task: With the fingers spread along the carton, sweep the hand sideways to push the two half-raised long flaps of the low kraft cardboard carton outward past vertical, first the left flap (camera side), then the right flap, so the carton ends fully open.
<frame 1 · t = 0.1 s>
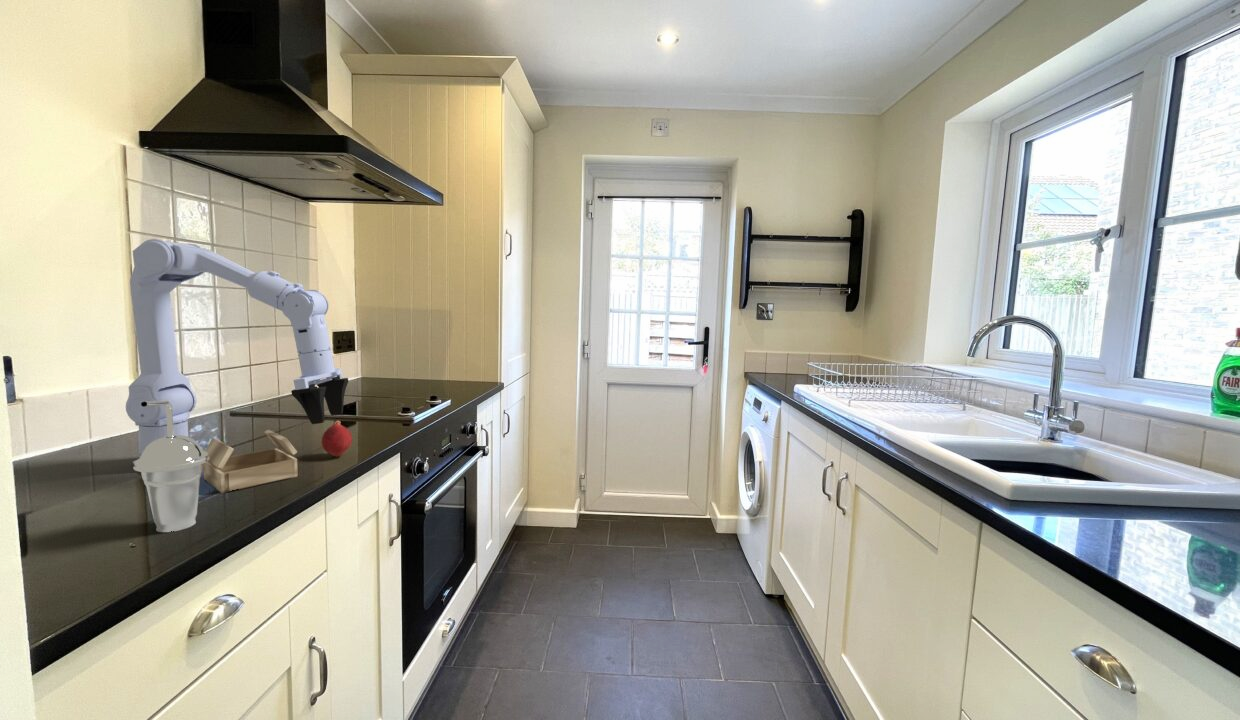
hand: (327, 418, 102), 11 cm above the countertop, tool pointing down, fingers open, 7 cm apart
carton: (251, 477, 97), on the countertop
red rounded oval piece: (337, 457, 111), on the countertop
flap 2: (280, 441, 100), point 6 cm above the countertop, hinge at 60.0°
flap 1: (217, 452, 92), point 6 cm above the countertop, hinge at 60.0°
cup with straw: (174, 527, 76), on the countertop
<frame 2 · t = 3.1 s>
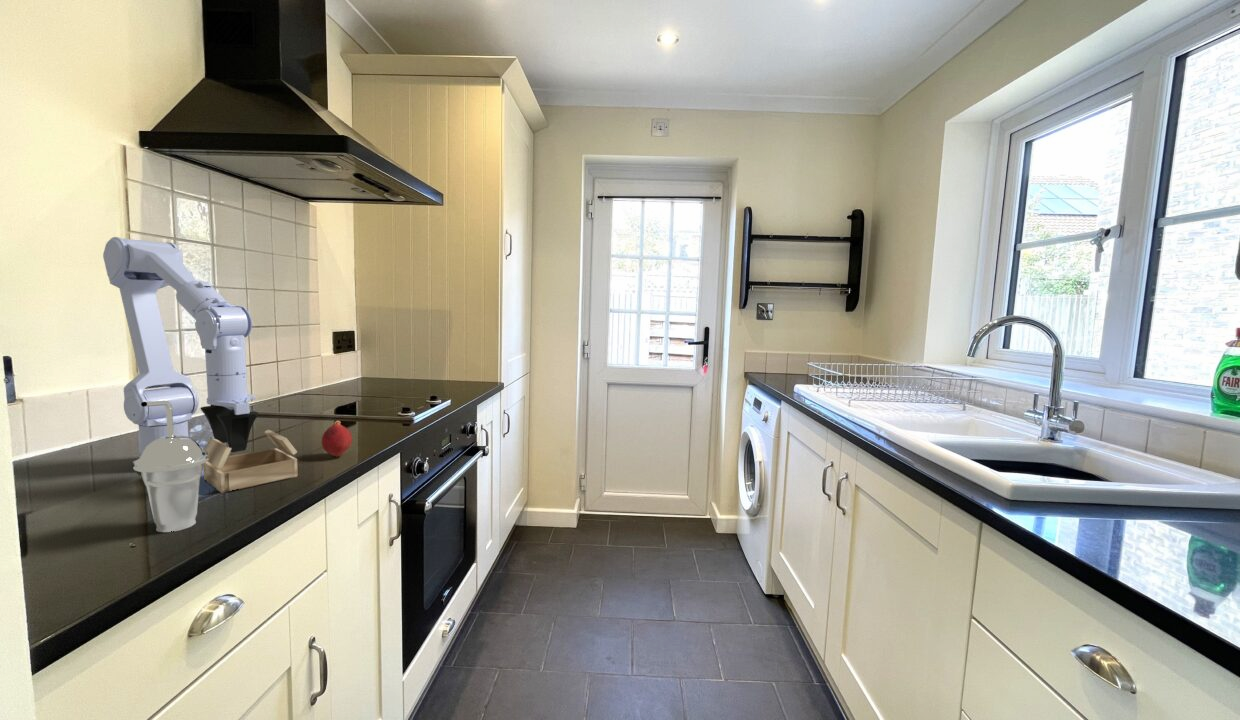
hand: (230, 446, 94), 7 cm above the countertop, tool pointing down
flap 1: (216, 452, 92), point 6 cm above the countertop, hinge at 66.0°, touching gripper
everything else where it was.
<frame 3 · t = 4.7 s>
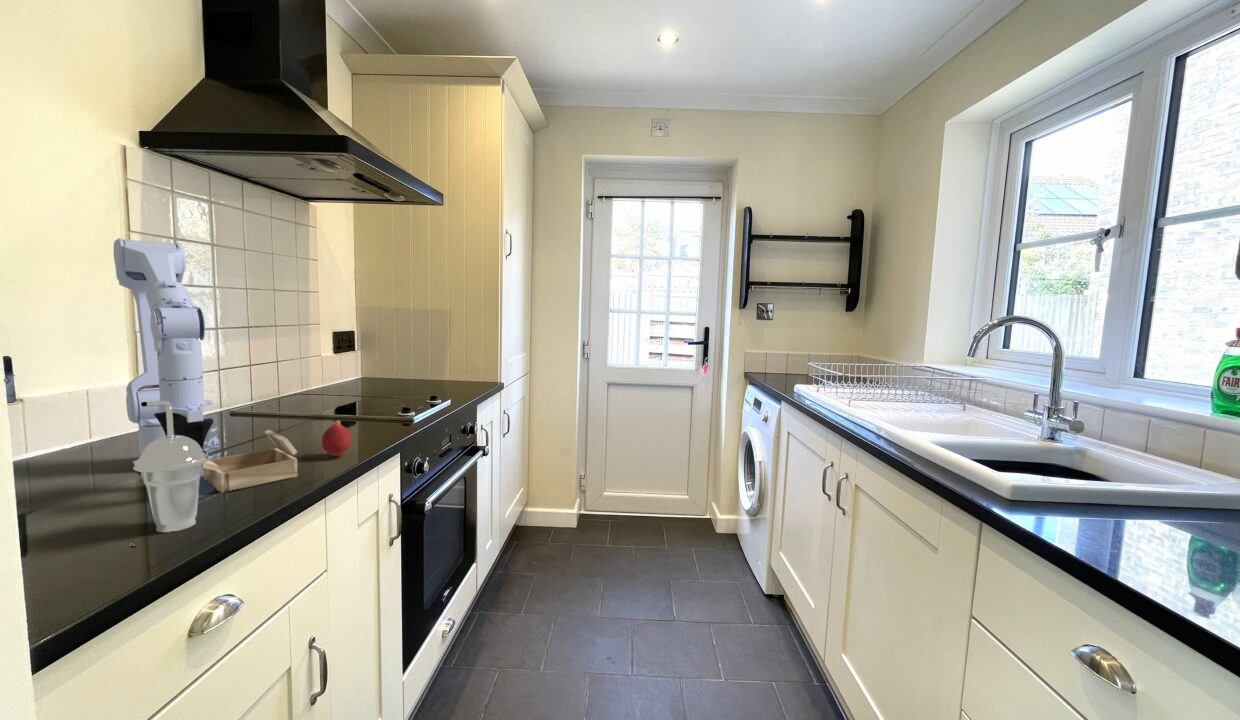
hand: (185, 455, 88), 7 cm above the countertop, tool pointing down, fingers open, 7 cm apart
flap 1: (198, 460, 90), point 5 cm above the countertop, hinge at 151.3°
everything else where it was.
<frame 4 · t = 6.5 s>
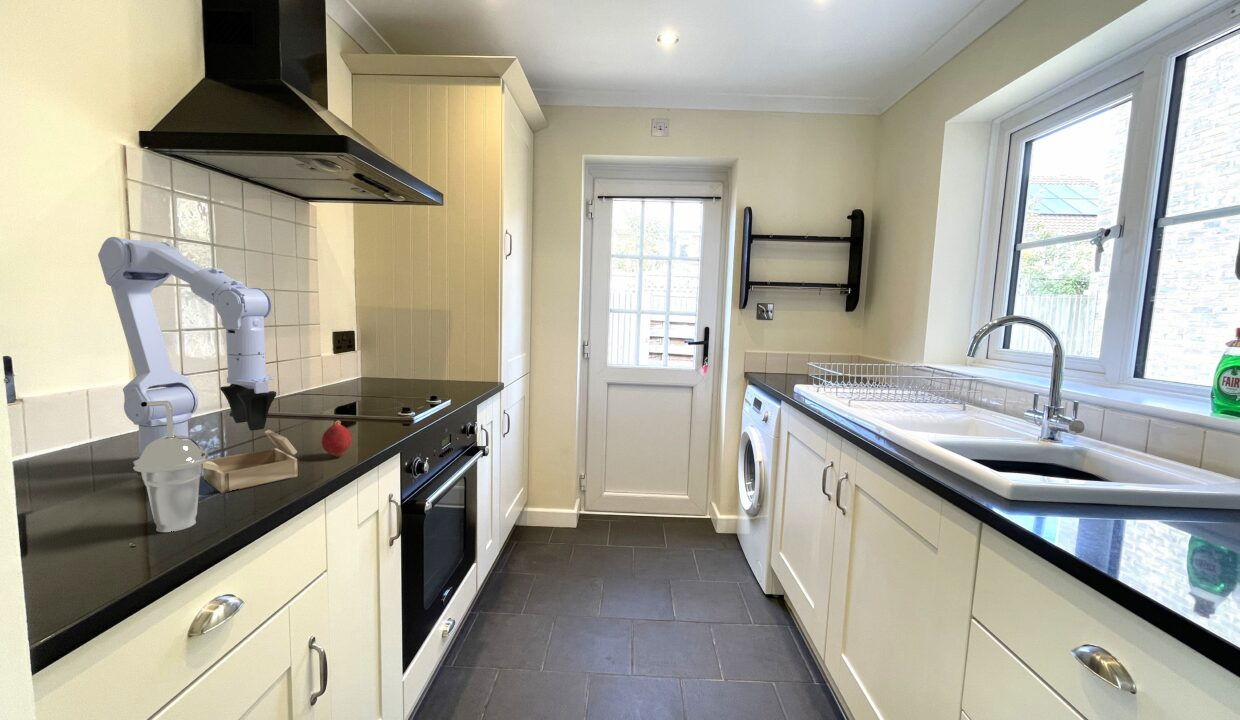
hand: (249, 425, 96), 10 cm above the countertop, tool pointing down, fingers open, 7 cm apart
nothing on the countertop moved.
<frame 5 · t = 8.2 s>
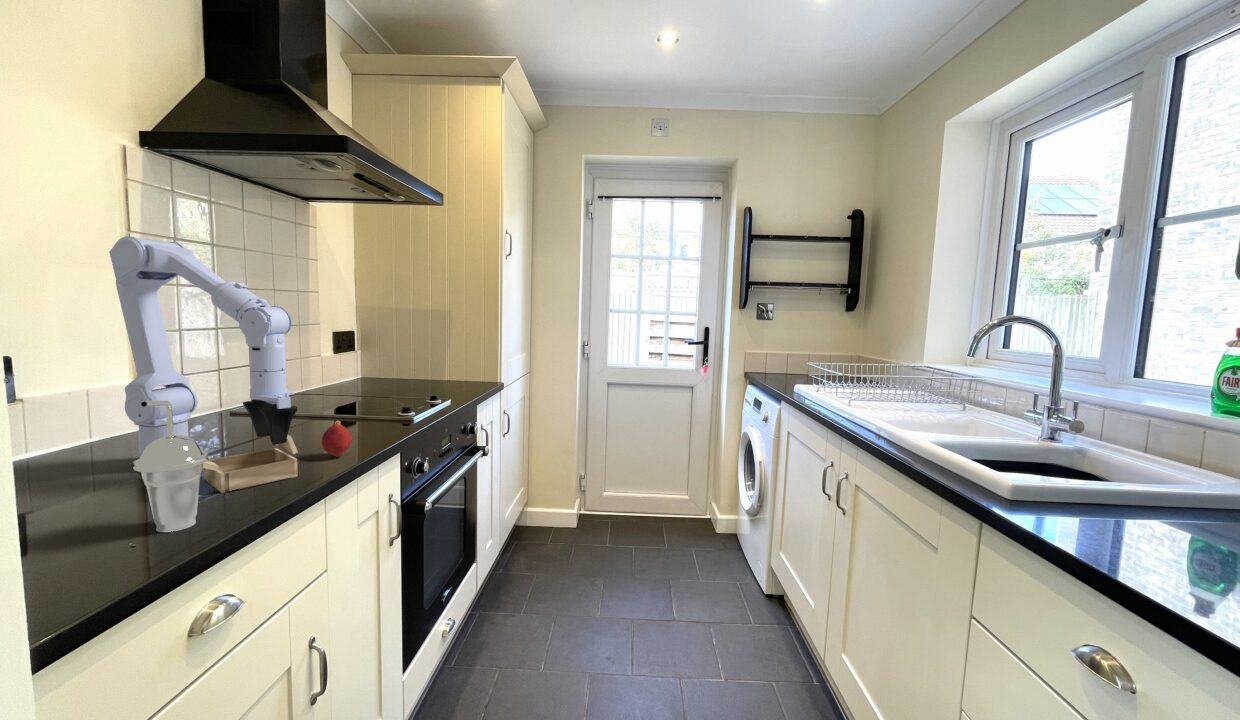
hand: (271, 439, 99), 7 cm above the countertop, tool pointing down
flap 2: (282, 440, 100), point 6 cm above the countertop, hinge at 72.6°, touching gripper
everything else where it was.
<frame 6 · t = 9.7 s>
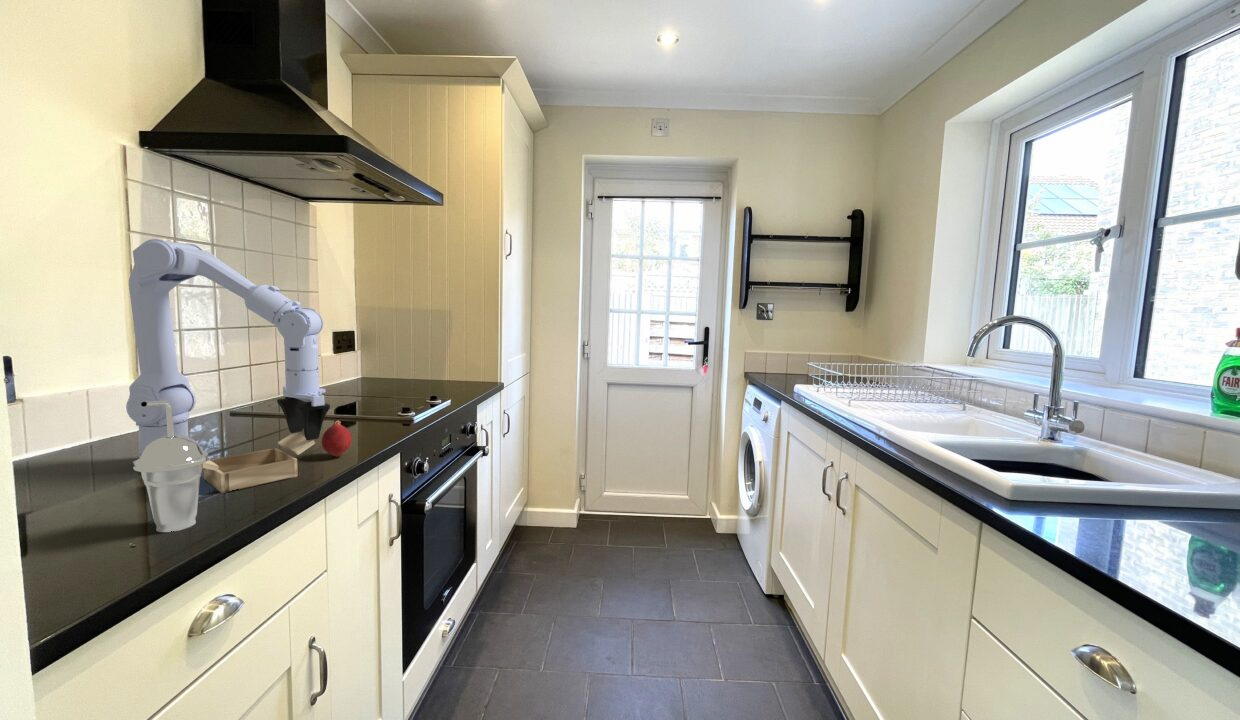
hand: (304, 435, 103), 7 cm above the countertop, tool pointing down, fingers open, 7 cm apart
flap 2: (296, 442, 102), point 5 cm above the countertop, hinge at 150.6°
everything else where it was.
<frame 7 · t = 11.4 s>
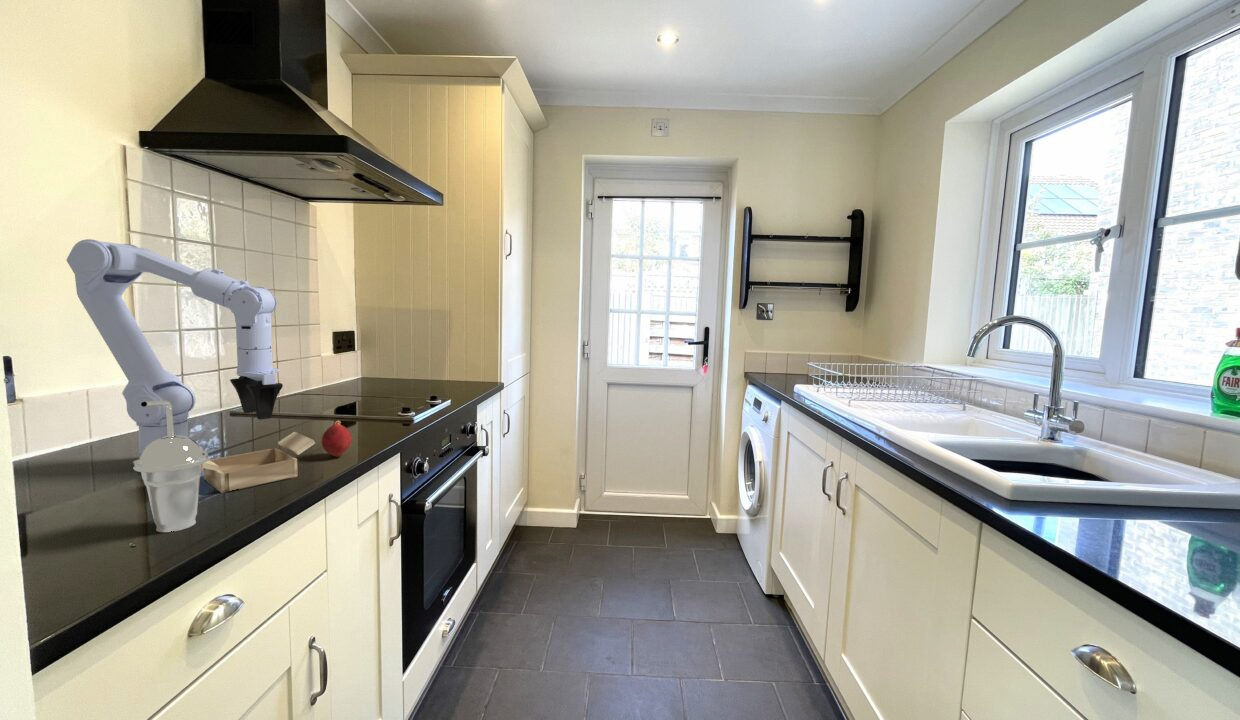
hand: (257, 415, 103), 10 cm above the countertop, tool pointing down, fingers open, 7 cm apart
nothing on the countertop moved.
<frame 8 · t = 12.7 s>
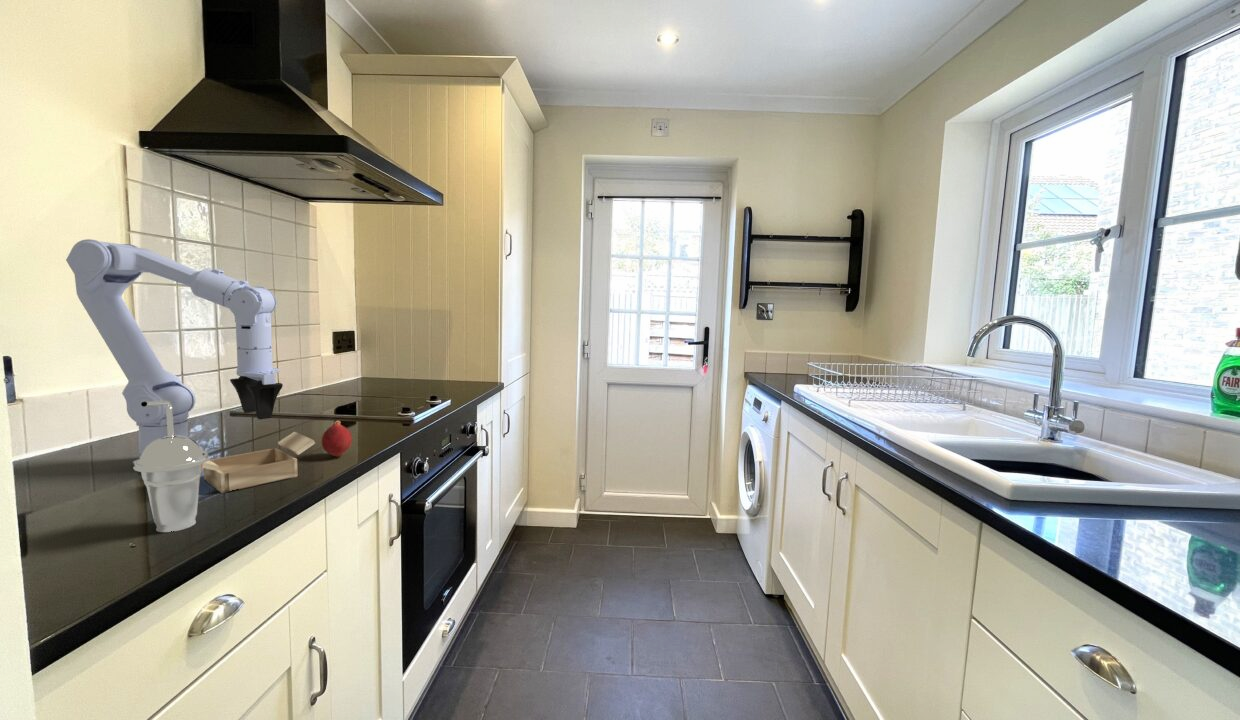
hand: (257, 415, 103), 10 cm above the countertop, tool pointing down, fingers open, 7 cm apart
nothing on the countertop moved.
at the end: flap 1 at +151° (first picture: +60°); flap 2 at +151° (first picture: +60°) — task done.
